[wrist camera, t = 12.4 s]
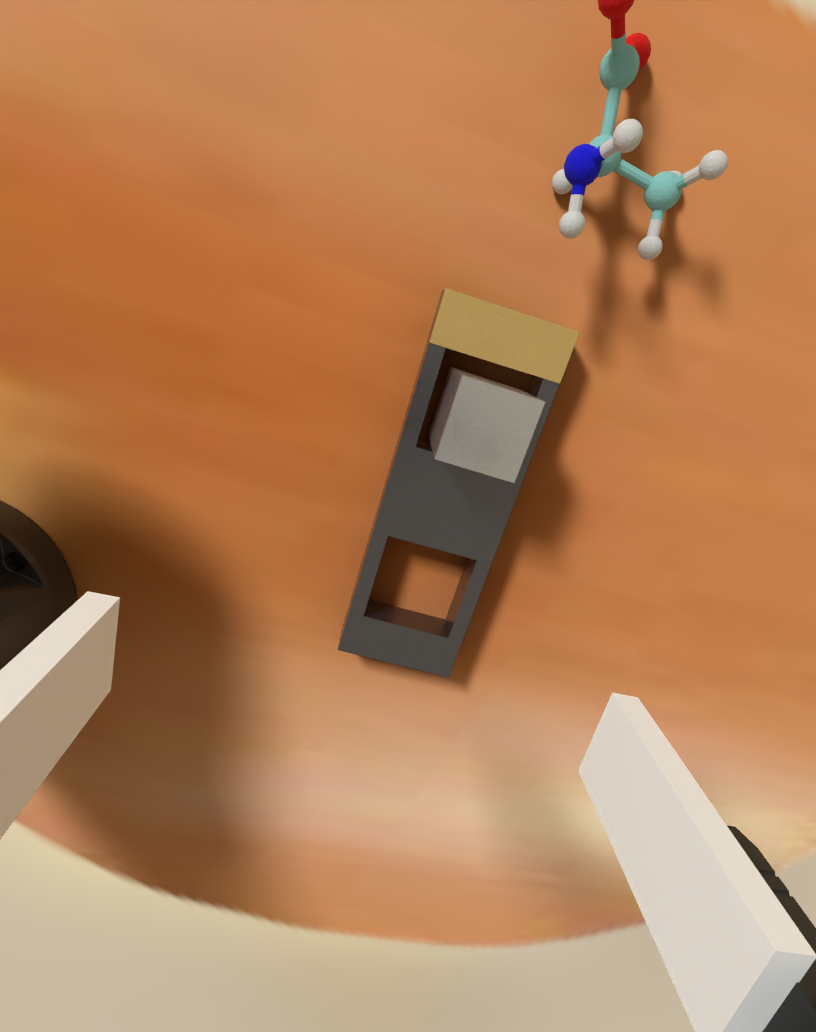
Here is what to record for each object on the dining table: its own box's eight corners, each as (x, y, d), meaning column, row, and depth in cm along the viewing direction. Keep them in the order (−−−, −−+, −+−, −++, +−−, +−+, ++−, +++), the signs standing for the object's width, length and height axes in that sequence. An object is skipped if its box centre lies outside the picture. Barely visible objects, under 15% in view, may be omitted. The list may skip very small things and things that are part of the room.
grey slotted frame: (341, 631, 40) (337, 650, 38) (442, 291, 33) (445, 287, 30) (445, 657, 41) (448, 678, 39) (566, 331, 34) (579, 331, 31)
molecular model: (807, 131, 27) (806, 97, 20) (643, 276, 34) (596, 291, 26) (663, -44, 28) (609, -141, 20) (527, 132, 34) (449, 107, 27)
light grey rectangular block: (428, 435, 36) (434, 459, 29) (450, 366, 34) (462, 375, 28) (493, 455, 36) (514, 482, 30) (517, 388, 35) (545, 401, 28)
